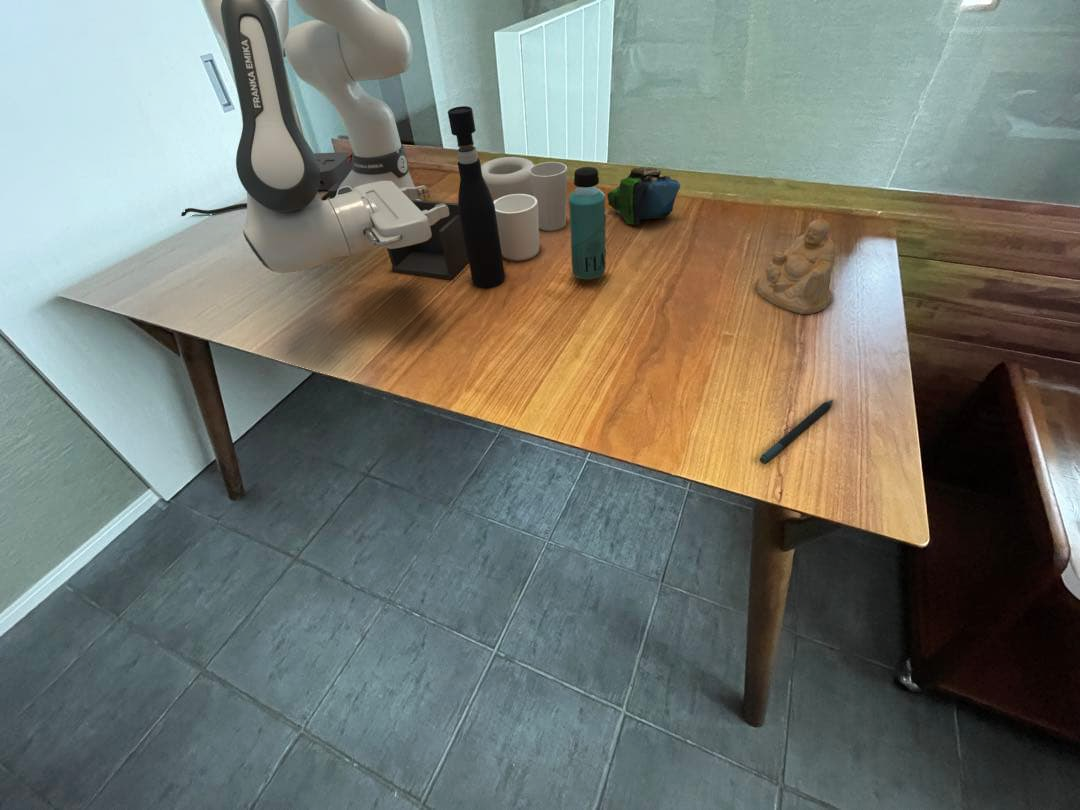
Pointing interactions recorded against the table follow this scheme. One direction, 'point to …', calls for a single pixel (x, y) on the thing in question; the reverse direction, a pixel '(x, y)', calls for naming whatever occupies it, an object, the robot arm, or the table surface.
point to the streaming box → (332, 168)
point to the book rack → (434, 248)
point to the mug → (518, 226)
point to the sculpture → (644, 195)
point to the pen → (795, 432)
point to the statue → (801, 272)
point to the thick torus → (507, 176)
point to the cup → (550, 194)
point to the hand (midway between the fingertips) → (437, 199)
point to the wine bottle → (476, 206)
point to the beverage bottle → (587, 225)
